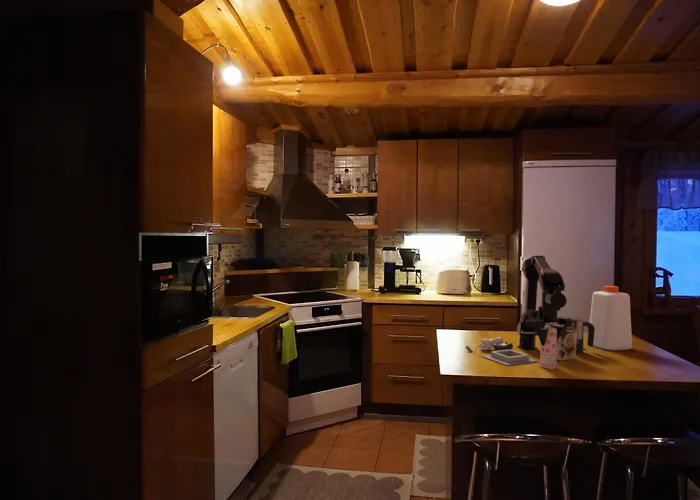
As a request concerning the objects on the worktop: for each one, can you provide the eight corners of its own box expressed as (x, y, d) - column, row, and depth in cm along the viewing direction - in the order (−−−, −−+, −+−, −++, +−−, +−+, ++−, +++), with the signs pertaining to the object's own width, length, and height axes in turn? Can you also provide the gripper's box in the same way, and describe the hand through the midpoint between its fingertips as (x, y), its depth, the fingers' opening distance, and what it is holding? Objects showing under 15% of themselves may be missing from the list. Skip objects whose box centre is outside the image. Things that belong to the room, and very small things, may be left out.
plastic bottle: (608, 342, 223) (610, 284, 222) (636, 349, 209) (638, 287, 208) (583, 344, 218) (585, 284, 218) (610, 351, 204) (612, 288, 203)
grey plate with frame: (511, 353, 198) (512, 347, 198) (537, 361, 185) (537, 355, 185) (482, 357, 192) (482, 351, 191) (506, 366, 179) (507, 359, 179)
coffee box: (561, 360, 188) (562, 321, 187) (548, 357, 193) (549, 318, 193) (576, 358, 192) (577, 319, 191) (563, 354, 198) (564, 317, 197)
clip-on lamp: (476, 363, 194) (515, 352, 197) (473, 349, 193) (513, 338, 196) (464, 353, 205) (501, 343, 208) (461, 340, 204) (499, 330, 207)
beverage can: (546, 369, 175) (547, 330, 174) (536, 365, 180) (537, 327, 180) (559, 368, 176) (560, 329, 176) (549, 364, 182) (550, 326, 181)
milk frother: (568, 354, 198) (569, 320, 198) (546, 346, 214) (546, 314, 213) (597, 353, 201) (598, 319, 201) (573, 345, 217) (574, 313, 216)
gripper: (550, 300, 189) (549, 338, 189) (515, 302, 181) (514, 342, 181) (573, 304, 179) (572, 344, 179) (537, 306, 171) (536, 348, 171)
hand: (548, 344), depth 178 cm, fingers closed on beverage can, 6 cm apart
